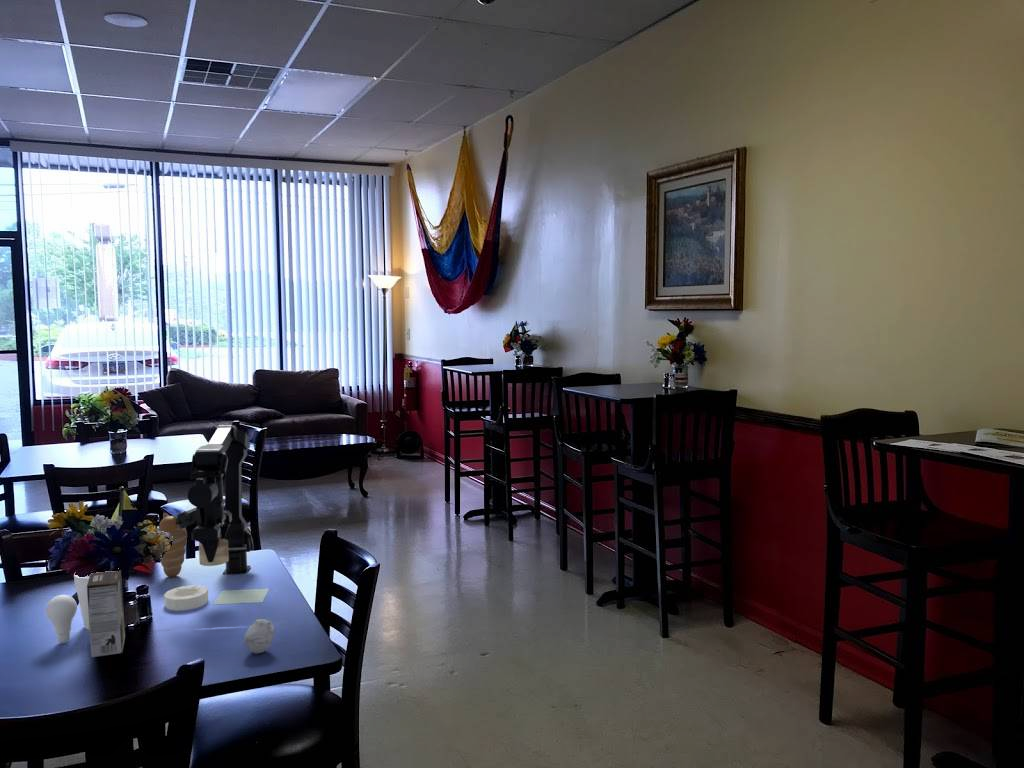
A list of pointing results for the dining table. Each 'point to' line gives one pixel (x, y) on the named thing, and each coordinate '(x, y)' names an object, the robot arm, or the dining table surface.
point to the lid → (220, 554)
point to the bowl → (186, 597)
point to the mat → (241, 596)
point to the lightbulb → (61, 615)
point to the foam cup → (83, 597)
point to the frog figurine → (259, 636)
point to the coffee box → (105, 613)
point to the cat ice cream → (173, 546)
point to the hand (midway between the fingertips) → (213, 557)
